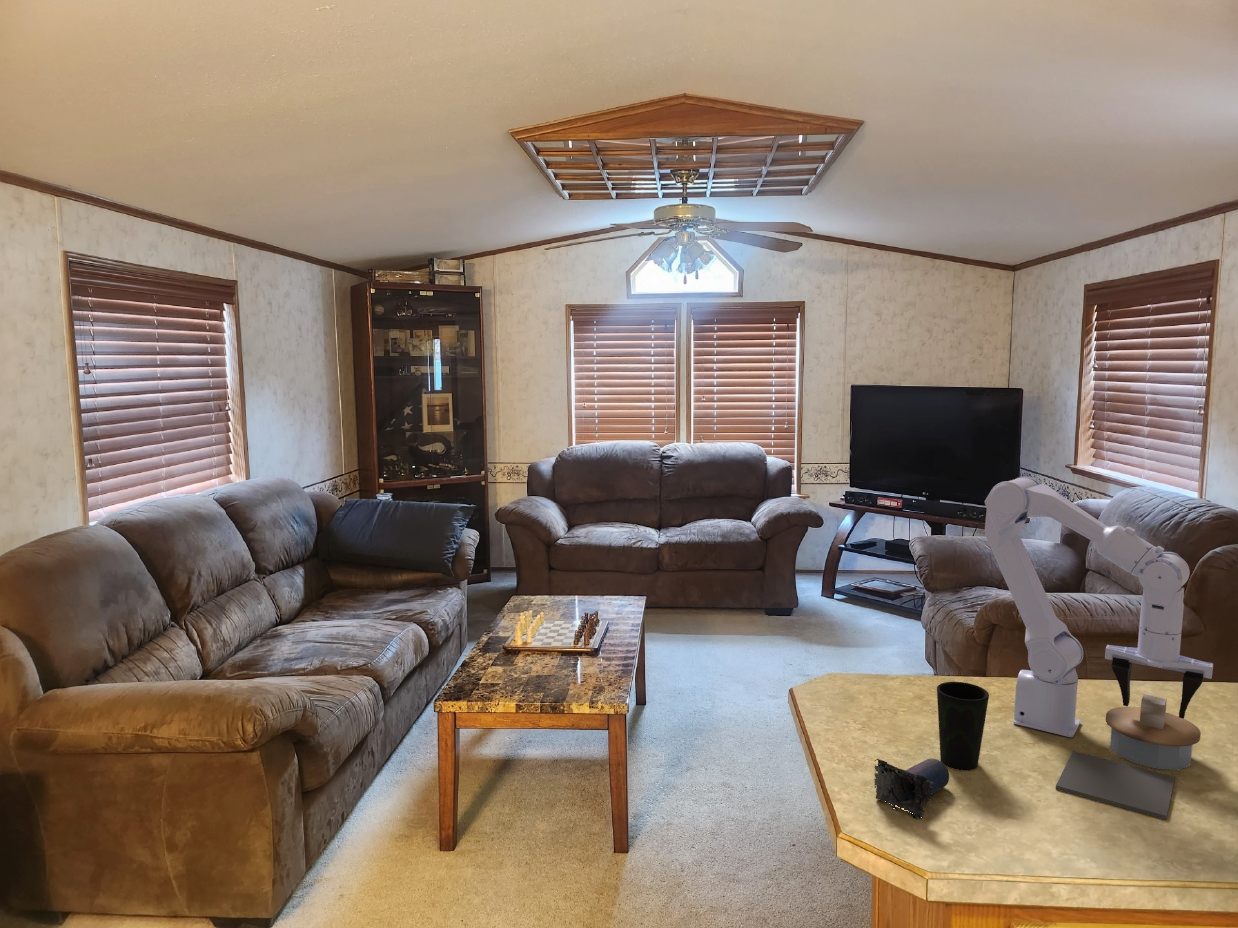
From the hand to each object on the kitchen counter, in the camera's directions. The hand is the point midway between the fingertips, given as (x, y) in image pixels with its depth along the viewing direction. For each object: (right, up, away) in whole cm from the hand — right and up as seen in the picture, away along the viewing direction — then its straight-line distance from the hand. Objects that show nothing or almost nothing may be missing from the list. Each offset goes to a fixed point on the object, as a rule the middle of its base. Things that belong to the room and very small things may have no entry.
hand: (1153, 709), depth 137 cm
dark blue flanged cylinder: (-43, -10, -12) cm, 46 cm away
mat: (-12, -9, -9) cm, 17 cm away
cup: (-32, -8, -2) cm, 33 cm away
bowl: (0, -7, +1) cm, 7 cm away
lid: (0, -3, 0) cm, 3 cm away
